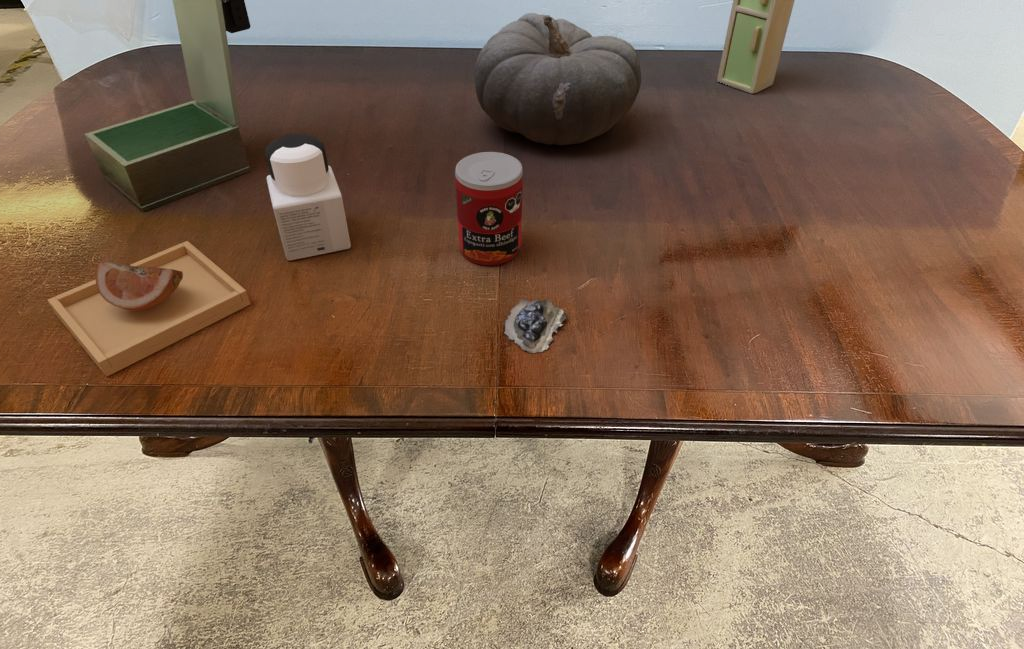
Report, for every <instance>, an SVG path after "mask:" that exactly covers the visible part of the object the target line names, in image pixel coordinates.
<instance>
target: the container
mask: <svg viewBox="0 0 1024 649" xmlns="http://www.w3.org/2000/svg"><path fill="white" fill-rule="evenodd" d="M325 147H326V146H325V143H324V142H323V141H322V140H320V138H318V137H316V136H314V135H310V134H304V133H303V134H302V133H294V134H287V135H284V136H281V137H279V138H276V139H274V140H272V141H271V142H270V143H268V145H267V146H266V148H265V150H264V155H265V158H266V163H267V167H268V171H269V174H268V175H267V176H266V183H267V187H268V192H269V196H270V201H271V206H272V210H273V214H274V218H275V222H276V225H277V229H278V233H279V237H280V240H281V245H282V249H283V252H284V255H285V256H284V257H285V259H286V260H287V261H295V260H301V259H305V258H310V257H315V256H320V255H325V254H329V253H330V254H331V253H335V252H340V251H345V250H349V249H350V248H351V246H352V245H351V239H350V234H349V229H348V222H347V217H346V212H345V211H346V210H345V206H344V201H343V195H342V192H341V189H340V187H339V184H338V181H337V180H336V179H337V178H336V177H335V174H334V171H333V168H332V166H330V165H329V162H328V157H327V153H326V148H325Z"/></svg>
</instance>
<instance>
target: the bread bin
mask: <svg viewBox="0 0 1024 649" xmlns="http://www.w3.org/2000/svg"><path fill="white" fill-rule="evenodd" d="M84 136H85V138H86V141H87V143H88V145H89V147H90V150H91V152H92V154H93V156H94V159H95V161H96V163H97V165H98V167H99V170H100V173H101V174H102V176H103V179H104V180H105V181H106V182H107V183H108V184H110V185H111V186H112V187H113V188H114V189H116V190H117V191H118V192H119V193H121V194H122V196H124V197H125V198H126V199H127V200H128V201H130V202H131V203H132V204H133V205H134V206H135V207H136V208H137V209H139V210H140V211H141V212H142V213H145V212H149V211H151V210H153V209H156V208H159V207H161V206H164V205H167V204H169V203H171V202H174V201H176V200H179V199H182V198H184V197H187V196H190V195H192V194H195V193H197V192H200V191H203V190H206V189H208V188H210V187H213V186H215V185H217V184H220V183H224V182H226V181H229V180H232V179H234V178H237V177H239V176H242V175H245V174H247V173H250V172H251V167H250V164H249V160H248V156H247V153H246V150H245V146H244V143H243V138H242V135H241V132H240V127H239V126H238V125H237V124H234V123H232V122H231V121H229V120H228V119H226V118H224V117H223V116H221V115H219V114H218V113H216V112H214V111H213V110H211V109H210V108H208V107H206V106H205V105H203V104H201V103H200V102H198V101H196V100H195V99H193V100H191V101H188V102H184V103H181V104H178V105H175V106H171V107H168V108H164V109H161V110H157V111H154V112H151V113H148V114H144V115H141V116H138V117H134V118H132V119H129V120H128V119H127V120H126V121H122V122H118V123H116V124H115V123H114V124H112V125H109V126H105V127H101V128H99V129H95V130H93V131H90V132H89V131H88V132H86V133H84Z"/></svg>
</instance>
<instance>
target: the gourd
mask: <svg viewBox="0 0 1024 649" xmlns="http://www.w3.org/2000/svg"><path fill="white" fill-rule="evenodd" d="M474 66H475V67H474V88H475V93H476V98H477V101H478V103H479V106H480V108H481V109H482V111H483V112H484V113H485V114H486V115H487V116H488V117H489V118H490V119H491V120H492V121H493V122H494V123H495V124H496V125H497V126H499V127H500V128H502V129H503V130H504V131H508V132H510V133H517V134H518V133H519V134H520V135H523V136H524V137H525V138H526V139H527V140H529V141H532V142H535V143H539V144H544V145H547V146H549V145H550V146H551V145H556V146H569V145H576V144H577V145H578V144H581V143H584V142H587V141H589V140H592V139H593V138H596V137H599V136H602V135H604V134H605V133H606V132H608V131H609V130H610V129H611V128H612V127H614V125H615V124H616V123H617V122H618V121H620V120H621V119H622V118H623V117H624V116H625V115H626V114H627V113H628V112H629V111H630V110H631V108H632V107H633V105H634V104H635V102H636V100H637V97H638V95H639V92H640V89H641V85H642V70H641V63H640V60H639V56H638V52H637V51H636V49H635V47H634V46H633V45H632V44H631V43H630V42H628V41H627V40H625V39H624V38H621V37H617V36H613V35H597V36H596V35H595V36H593V35H592V34H591V33H590V32H589V31H587V30H586V29H584V28H582V27H580V26H577V25H576V24H574V23H573V22H570V21H569V20H567V19H563V18H557V19H555V18H554V17H552V16H551V15H549V14H548V15H547V14H539V13H537V12H528V13H525V14H523V15H522V16H520V17H519V18H518V19H517V20H514V21H512V22H510V23H508V24H506V25H505V26H503V27H501V29H500V30H498V32H496V33H495V34H494V35H492V36H491V37H490V38H488V40H487V42H486V43H485V44H484V46H483V47H482V48H481V50H480V52H479V53H478V56H477V58H476V61H475V65H474Z"/></svg>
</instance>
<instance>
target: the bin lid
mask: <svg viewBox="0 0 1024 649" xmlns="http://www.w3.org/2000/svg"><path fill="white" fill-rule="evenodd" d="M172 5H173V10H174V14H175V21H176V25H177V30H178V35H179V41H180V46H181V47H180V48H181V51H182V55H183V62H184V67H185V73H186V78H187V82H188V83H187V84H188V87H189V93H190V98H192V99H193V100H195V101H197V102H198V103H200V104H202V105H203V106H205V107H207V108H208V109H210V110H212V111H213V112H215V113H216V114H218V115H220V116H221V117H223V118H225V119H226V120H228V121H230V122H231V123H233V124H234V125H237V124H240V123H241V119H240V113H239V107H238V99H237V94H236V88H235V80H234V75H233V68H232V67H233V66H232V62H231V54H230V47H229V43H228V36H227V31H226V28H225V22H224V15H223V9H222V2H221V0H172Z"/></svg>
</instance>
